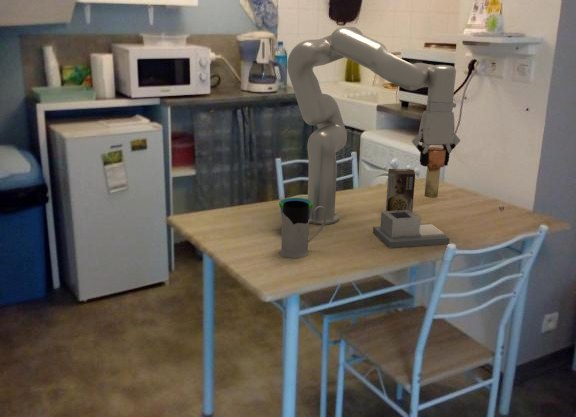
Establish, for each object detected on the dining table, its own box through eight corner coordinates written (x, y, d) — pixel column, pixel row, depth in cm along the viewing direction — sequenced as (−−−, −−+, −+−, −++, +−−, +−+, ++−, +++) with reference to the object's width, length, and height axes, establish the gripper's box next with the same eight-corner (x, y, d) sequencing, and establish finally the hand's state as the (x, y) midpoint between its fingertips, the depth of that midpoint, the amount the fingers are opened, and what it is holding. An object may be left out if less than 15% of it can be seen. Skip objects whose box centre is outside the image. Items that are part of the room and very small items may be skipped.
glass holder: (275, 248, 187) (276, 201, 182) (319, 244, 192) (321, 197, 187) (285, 259, 179) (287, 210, 174) (330, 254, 184) (333, 206, 179)
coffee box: (410, 212, 224) (414, 169, 219) (412, 218, 218) (416, 173, 213) (384, 211, 225) (388, 167, 220) (385, 216, 219) (389, 172, 214)
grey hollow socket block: (391, 238, 192) (392, 220, 190) (380, 228, 200) (381, 211, 198) (418, 237, 194) (420, 219, 192) (406, 227, 203) (408, 209, 201)
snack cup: (273, 224, 207) (274, 195, 204) (304, 223, 210) (305, 194, 207) (285, 241, 193) (285, 210, 190) (317, 239, 196) (318, 208, 192)
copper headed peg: (435, 192, 199) (440, 146, 195) (445, 198, 193) (449, 151, 189) (417, 193, 198) (421, 147, 193) (426, 199, 192) (430, 151, 187)
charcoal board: (389, 248, 190) (390, 241, 189) (372, 232, 203) (373, 226, 202) (449, 244, 195) (449, 238, 194) (428, 229, 208) (429, 223, 207)
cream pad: (421, 236, 194) (421, 235, 194) (409, 227, 203) (409, 225, 202) (444, 235, 196) (444, 233, 196) (431, 225, 205) (431, 224, 204)
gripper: (459, 105, 193) (453, 161, 198) (407, 105, 189) (403, 163, 194) (471, 108, 186) (465, 167, 191) (418, 109, 182) (413, 169, 187)
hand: (433, 164), depth 193 cm, fingers closed on copper headed peg, 6 cm apart
